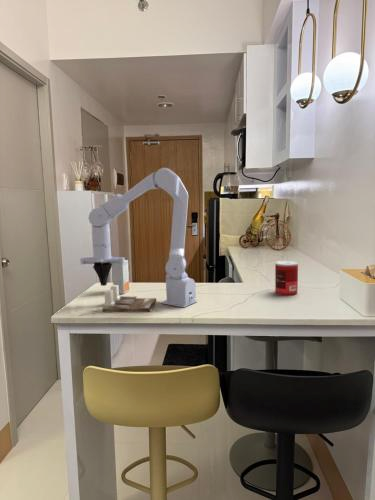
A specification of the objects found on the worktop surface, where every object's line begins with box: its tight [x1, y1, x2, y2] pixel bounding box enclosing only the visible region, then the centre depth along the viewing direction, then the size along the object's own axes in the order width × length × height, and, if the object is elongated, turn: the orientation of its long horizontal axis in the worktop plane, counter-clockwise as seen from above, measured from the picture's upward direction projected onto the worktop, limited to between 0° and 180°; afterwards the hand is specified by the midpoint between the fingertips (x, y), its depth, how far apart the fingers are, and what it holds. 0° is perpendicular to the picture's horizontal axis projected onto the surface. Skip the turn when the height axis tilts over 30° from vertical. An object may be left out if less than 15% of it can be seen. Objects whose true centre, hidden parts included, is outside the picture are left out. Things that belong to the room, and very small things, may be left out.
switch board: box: [102, 295, 157, 313], centre depth 121 cm, size 15×12×2 cm
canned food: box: [274, 260, 299, 296], centre depth 131 cm, size 8×8×11 cm
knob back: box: [110, 284, 120, 300], centre depth 124 cm, size 3×3×5 cm
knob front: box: [103, 289, 115, 306], centre depth 118 cm, size 3×3×5 cm
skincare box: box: [111, 259, 130, 295], centre depth 139 cm, size 6×4×12 cm
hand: (104, 284), depth 124 cm, fingers closed
